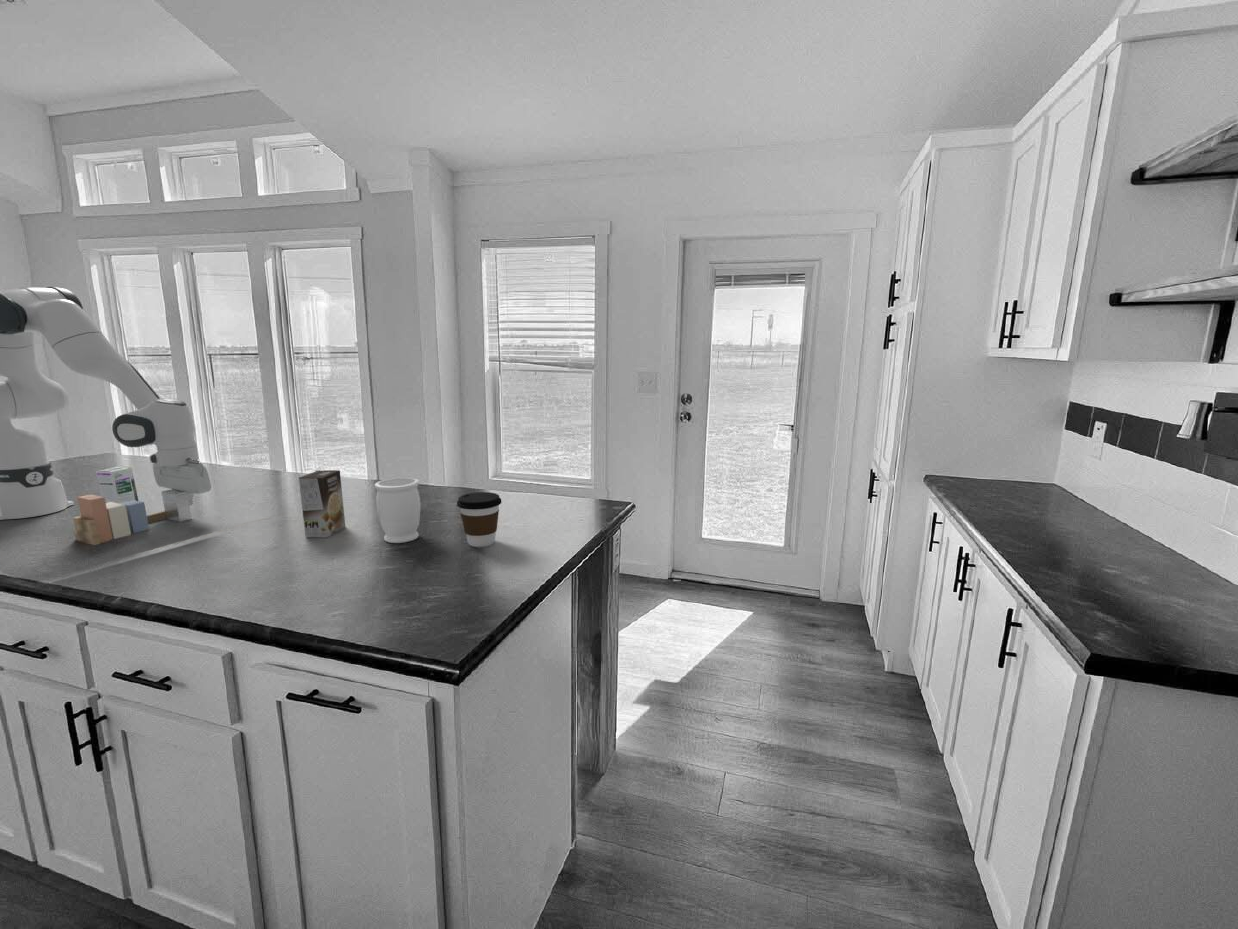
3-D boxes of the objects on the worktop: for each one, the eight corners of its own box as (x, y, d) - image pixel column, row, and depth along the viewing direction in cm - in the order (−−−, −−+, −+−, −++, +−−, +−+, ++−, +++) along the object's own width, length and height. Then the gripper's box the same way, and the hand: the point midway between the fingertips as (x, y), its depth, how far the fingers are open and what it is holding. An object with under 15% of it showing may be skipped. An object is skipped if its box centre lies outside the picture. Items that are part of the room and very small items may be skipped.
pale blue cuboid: (123, 530, 152) (118, 503, 150) (138, 526, 155) (133, 500, 153) (134, 533, 149) (128, 505, 148) (149, 529, 152) (144, 502, 151)
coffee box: (328, 538, 149) (322, 477, 145) (304, 537, 149) (297, 477, 145) (346, 526, 158) (340, 469, 154) (323, 526, 158) (317, 469, 154)
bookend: (166, 518, 161) (161, 491, 159) (178, 516, 164) (173, 488, 162) (179, 522, 158) (175, 494, 157) (191, 519, 161) (187, 491, 159)
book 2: (99, 535, 148) (93, 505, 146) (116, 531, 151) (110, 501, 149) (114, 539, 145) (108, 508, 143) (131, 534, 148) (125, 505, 146)
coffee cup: (450, 547, 142) (446, 500, 139) (475, 533, 152) (472, 489, 149) (488, 552, 138) (485, 505, 135) (511, 538, 148) (509, 493, 145)
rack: (76, 543, 145) (70, 517, 143) (185, 516, 167) (181, 493, 165) (95, 548, 141) (89, 521, 140) (203, 520, 163) (199, 496, 162)
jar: (431, 535, 151) (427, 479, 148) (401, 547, 142) (396, 489, 138) (401, 529, 155) (396, 475, 152) (370, 541, 146) (365, 484, 143)
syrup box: (121, 520, 163) (112, 471, 160) (105, 519, 164) (95, 470, 161) (141, 515, 168) (132, 466, 165) (125, 513, 170) (116, 466, 167)
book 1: (86, 538, 145) (77, 497, 143) (99, 535, 148) (91, 494, 145) (99, 542, 142) (90, 500, 140) (112, 539, 145) (104, 497, 143)
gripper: (213, 458, 158) (221, 506, 161) (170, 452, 167) (178, 498, 170) (188, 462, 153) (196, 512, 155) (145, 456, 161) (153, 503, 164)
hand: (186, 504), depth 163 cm, fingers closed
